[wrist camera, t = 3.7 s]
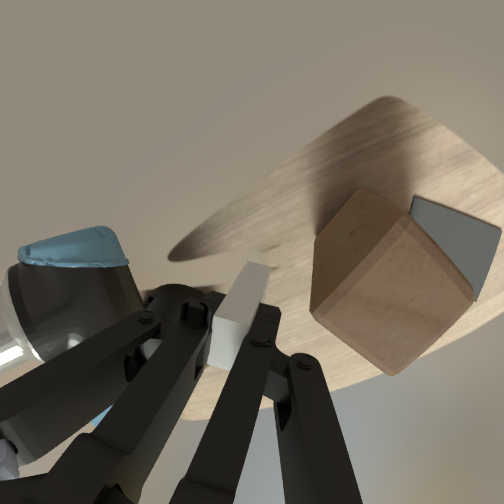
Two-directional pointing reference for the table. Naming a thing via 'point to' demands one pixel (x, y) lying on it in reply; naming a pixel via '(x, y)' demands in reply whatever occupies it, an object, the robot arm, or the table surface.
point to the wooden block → (384, 283)
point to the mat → (459, 239)
